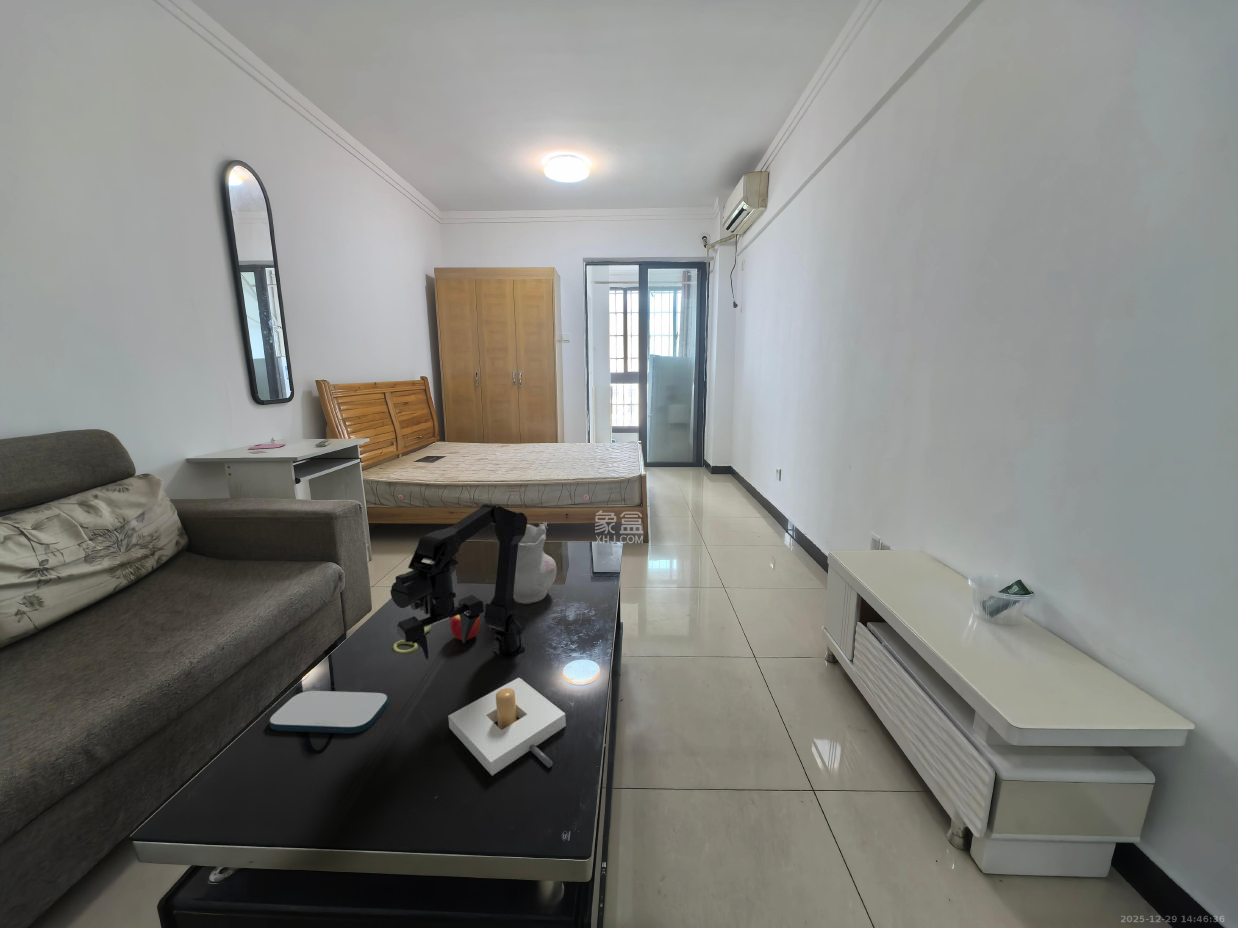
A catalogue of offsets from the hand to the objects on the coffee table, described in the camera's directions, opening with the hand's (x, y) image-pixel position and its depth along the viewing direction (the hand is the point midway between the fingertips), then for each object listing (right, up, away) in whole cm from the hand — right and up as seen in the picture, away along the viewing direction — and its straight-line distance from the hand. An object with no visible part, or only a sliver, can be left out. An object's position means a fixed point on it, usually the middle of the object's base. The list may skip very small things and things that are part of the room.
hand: (445, 650), depth 111 cm
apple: (-4, -7, +27) cm, 29 cm away
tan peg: (+17, -13, -8) cm, 23 cm away
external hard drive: (-25, -14, -3) cm, 29 cm away
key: (-19, -8, +26) cm, 33 cm away
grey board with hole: (+19, -14, -10) cm, 26 cm away
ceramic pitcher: (+10, -2, +52) cm, 52 cm away
